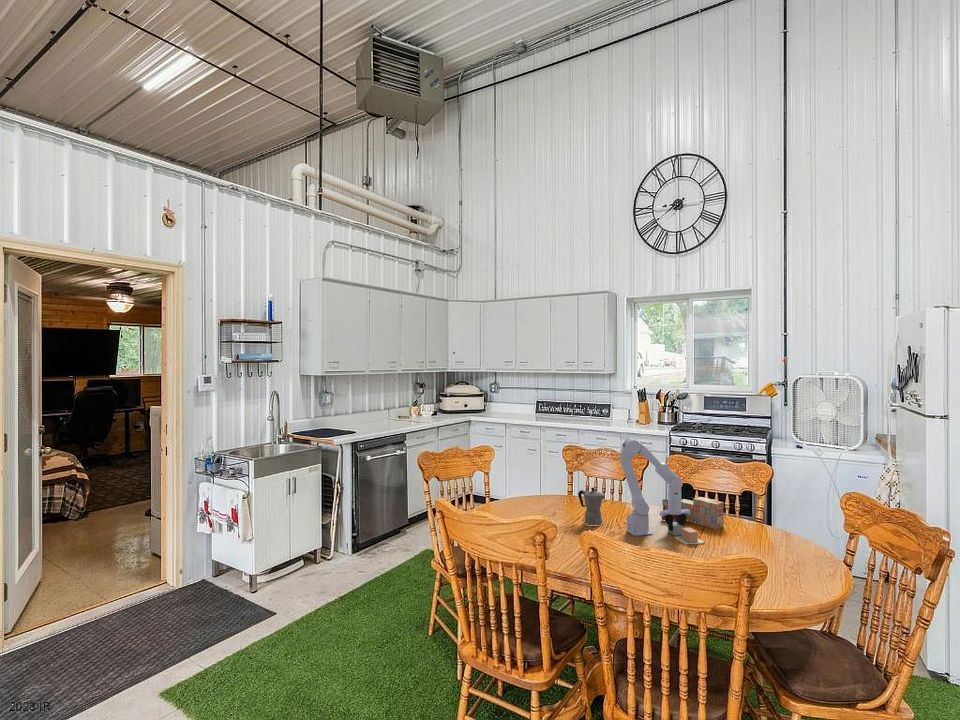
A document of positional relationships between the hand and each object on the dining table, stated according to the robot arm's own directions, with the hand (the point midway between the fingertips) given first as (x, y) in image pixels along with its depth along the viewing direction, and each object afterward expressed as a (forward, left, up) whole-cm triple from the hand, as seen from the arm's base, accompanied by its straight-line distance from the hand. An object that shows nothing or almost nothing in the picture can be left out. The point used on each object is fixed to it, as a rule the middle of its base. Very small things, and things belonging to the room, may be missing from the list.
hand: (675, 530), depth 235 cm
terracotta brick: (0, -11, -1) cm, 11 cm away
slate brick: (0, 0, -1) cm, 1 cm away
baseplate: (0, -10, -1) cm, 11 cm away
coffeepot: (-32, +22, -2) cm, 39 cm away
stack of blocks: (+21, +12, -2) cm, 24 cm away
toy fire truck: (+9, +16, -2) cm, 19 cm away
